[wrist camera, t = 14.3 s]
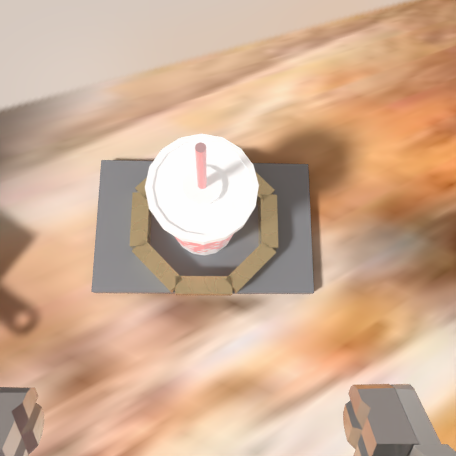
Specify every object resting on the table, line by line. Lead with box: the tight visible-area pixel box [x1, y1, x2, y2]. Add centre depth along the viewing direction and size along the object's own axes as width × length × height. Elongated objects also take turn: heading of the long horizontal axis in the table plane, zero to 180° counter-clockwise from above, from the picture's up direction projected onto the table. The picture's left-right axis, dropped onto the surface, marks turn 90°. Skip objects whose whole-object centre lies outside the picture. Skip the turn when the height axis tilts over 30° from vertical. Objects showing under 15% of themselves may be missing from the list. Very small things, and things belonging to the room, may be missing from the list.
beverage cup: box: [145, 134, 259, 255], centre depth 24 cm, size 6×6×14 cm
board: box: [92, 160, 314, 294], centre depth 32 cm, size 16×10×1 cm, turn 90°
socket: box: [130, 172, 278, 295], centre depth 30 cm, size 10×10×2 cm
